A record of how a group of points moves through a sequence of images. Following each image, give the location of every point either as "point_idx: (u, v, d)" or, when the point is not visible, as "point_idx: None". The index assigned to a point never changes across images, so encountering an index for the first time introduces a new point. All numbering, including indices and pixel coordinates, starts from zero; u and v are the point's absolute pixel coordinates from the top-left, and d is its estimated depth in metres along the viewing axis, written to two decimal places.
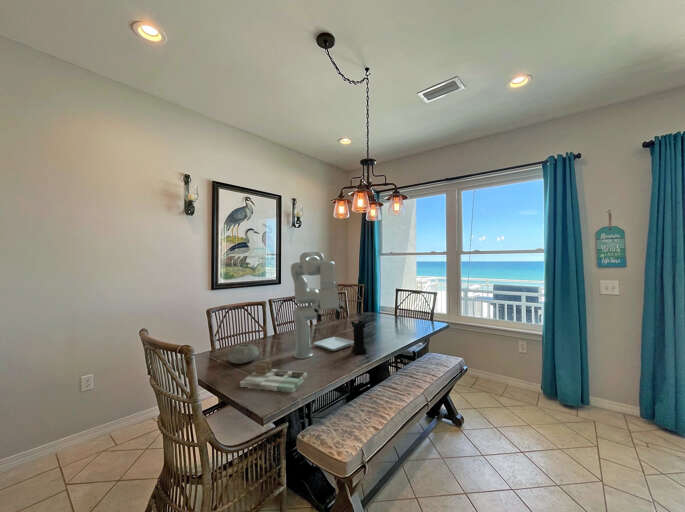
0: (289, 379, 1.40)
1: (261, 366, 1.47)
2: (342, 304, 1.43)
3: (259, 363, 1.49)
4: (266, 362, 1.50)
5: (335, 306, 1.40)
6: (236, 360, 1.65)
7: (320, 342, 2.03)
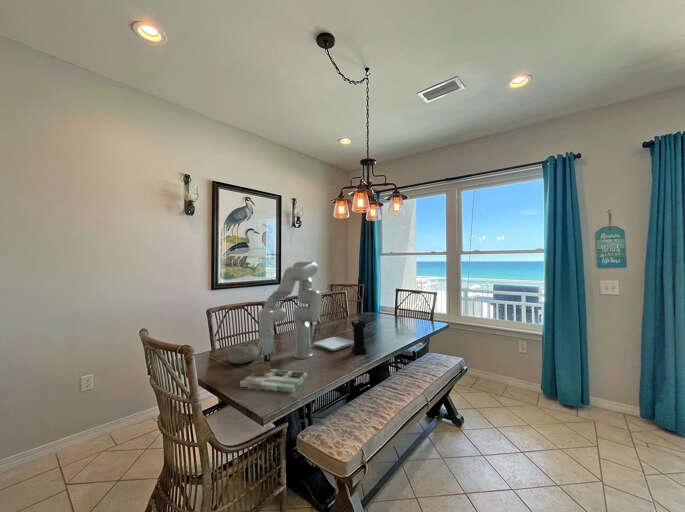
0: (289, 379, 1.40)
1: (260, 367, 1.46)
2: (271, 351, 1.58)
3: (258, 364, 1.48)
4: (265, 363, 1.49)
5: (273, 349, 1.56)
6: (236, 360, 1.65)
7: (320, 342, 2.03)
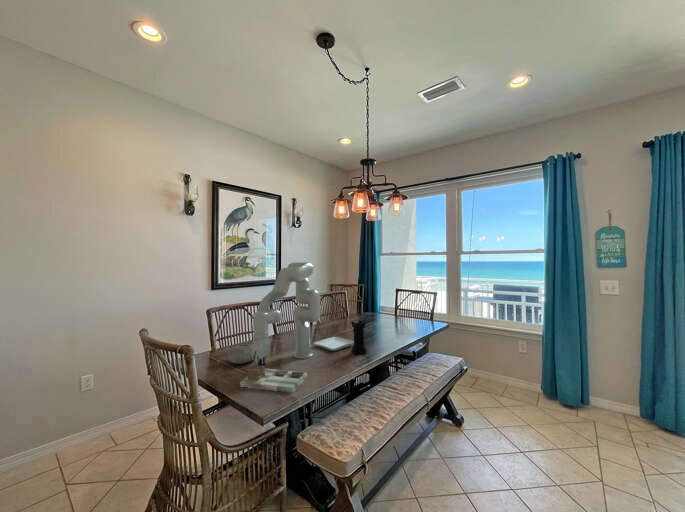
0: (289, 379, 1.40)
1: (254, 371, 1.40)
2: (266, 355, 1.52)
3: (252, 368, 1.42)
4: (259, 367, 1.43)
5: (267, 353, 1.51)
6: (236, 360, 1.65)
7: (320, 342, 2.03)
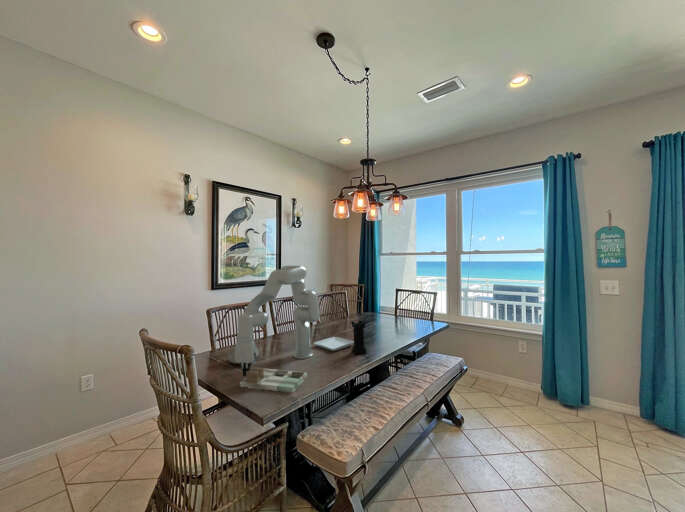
0: (289, 379, 1.40)
1: (252, 374, 1.37)
2: None
3: (250, 370, 1.39)
4: (258, 369, 1.41)
5: None
6: None
7: (320, 342, 2.03)
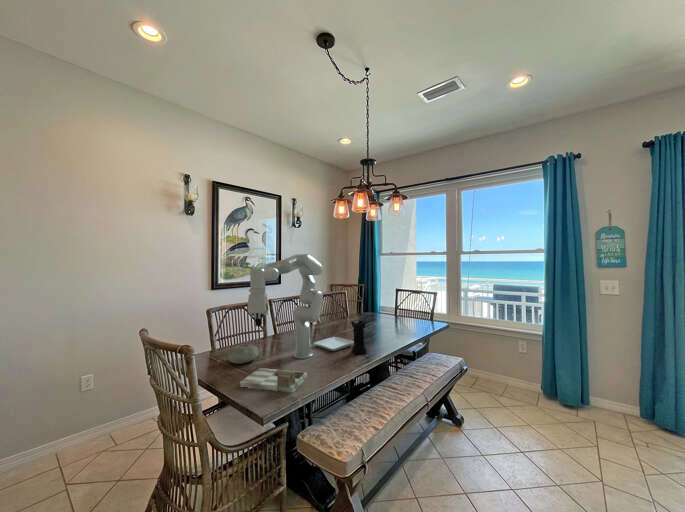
0: None
1: (284, 378, 1.32)
2: None
3: (281, 374, 1.34)
4: (289, 373, 1.35)
5: None
6: (236, 360, 1.65)
7: (320, 342, 2.03)
